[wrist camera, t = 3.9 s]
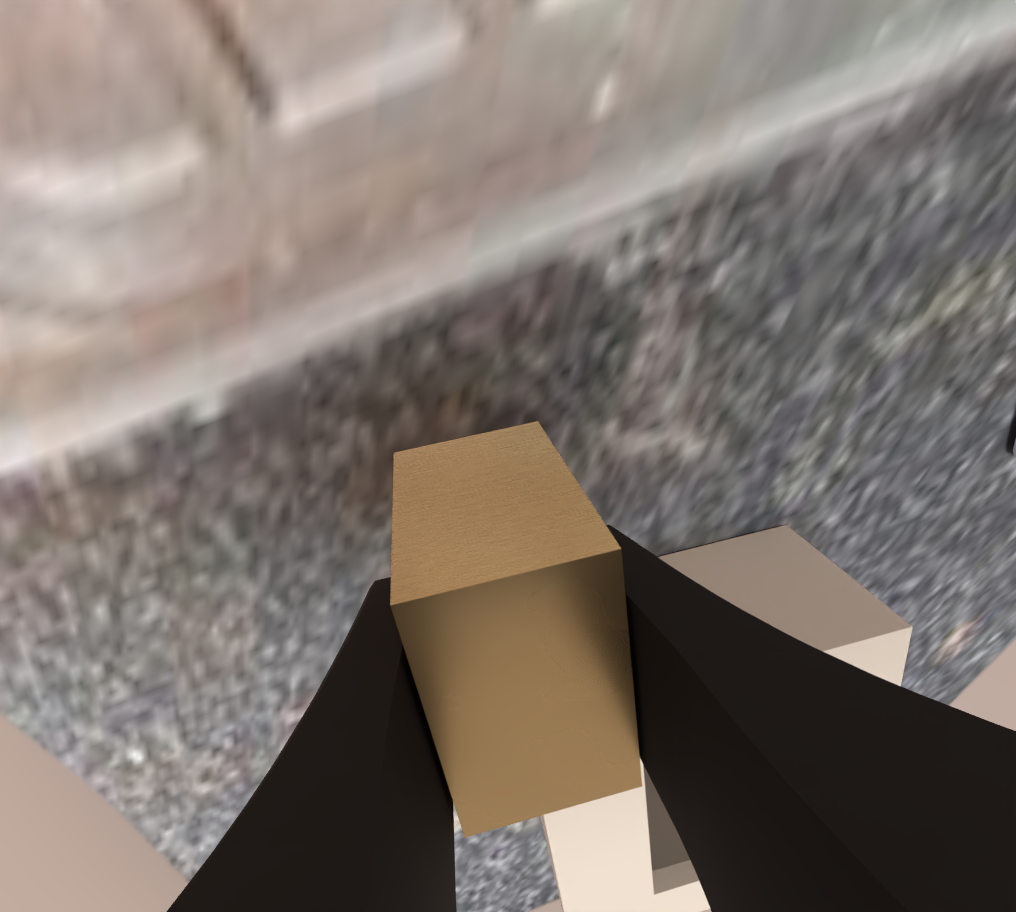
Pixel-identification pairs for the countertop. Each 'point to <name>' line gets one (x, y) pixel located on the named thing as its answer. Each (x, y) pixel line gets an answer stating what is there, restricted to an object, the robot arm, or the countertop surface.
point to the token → (513, 626)
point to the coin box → (640, 812)
